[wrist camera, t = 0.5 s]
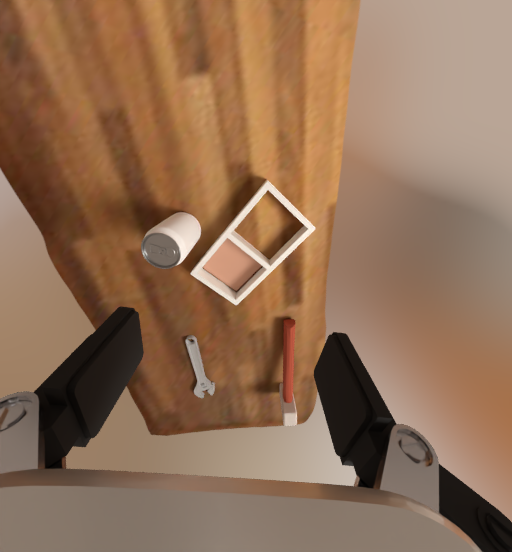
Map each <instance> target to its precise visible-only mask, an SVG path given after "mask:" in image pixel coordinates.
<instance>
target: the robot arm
mask: <svg viewBox="0 0 512 552" xmlns="http://www.w3.org/2000/svg"><path fill="white" fill-rule="evenodd" d="M142 357H143V345H142V337H141V329H140V321H139V314H138V312H135V309H134V308H128V307H119V308H117V310H116V311H115V312H114V313H113V314H112V315H111V316H110V317H109V318H108V319H107V320H106V321H105V322H104V323H103V324H102V325H101V326H100V327H99V328H98V329H97V330H96V331H95V332H94V333H93V334H91V335H90V336H89V337H88V338H87V339H86V340H85V341H84V342H83V343H82V344H81V345H80V346H79V347H78V348H77V349H76V350H75V351H74V352H73V353H72V354H71V355H70V356H69V357H68V358H67V359H66V360H65V361H64V362H63V363H62V364H61V365H60V366H59V367H58V368H57V369H56V370H55V371H54V372H53V373H52V374H51V375H50V376H49V377H48V378H47V379H46V380H45V381H44V382H43V383H42V384H41V386H40V387H39V388H37V390H35V392H34V393H33V392H27V391H26V392H17V393H14V394H10V395H7V396H5V397H3V398H1V399H0V552H512V522H511V521H510V520H509V519H508V518H507V517H506V516H505V515H503V514H502V513H501V512H500V511H499V510H498V509H496V508H495V507H494V506H493V505H491V504H490V503H489V502H487V501H486V500H485V499H483V498H482V497H481V496H480V495H478V494H477V493H476V492H475V491H473V490H472V489H471V488H469V487H468V486H467V485H466V484H464V483H463V482H462V481H460V480H459V479H458V478H457V477H455V476H454V475H453V474H451V473H450V472H449V471H448V470H446V469H445V468H443V467H442V466H441V465H440V464H439V462H438V457H437V455H436V453H435V451H434V449H433V447H432V446H431V445H430V443H429V442H428V441H427V440H426V439H425V438H424V436H423V435H421V434H420V433H419V432H418V431H416V430H415V429H413V428H411V427H410V426H407V425H404V424H396V423H395V421H394V419H393V417H392V415H391V413H390V411H389V410H388V408H387V406H386V404H385V402H384V401H383V399H382V397H381V395H380V393H379V391H378V390H377V388H376V386H375V384H374V383H373V381H372V379H371V377H370V375H369V373H368V372H367V370H366V368H365V366H364V365H363V363H362V361H361V359H360V358H359V356H358V354H357V352H356V350H355V349H354V347H353V345H352V343H351V341H350V339H349V338H348V336H347V335H346V334H344V333H337V332H333V334H332V335H329V336H328V339H327V341H326V343H325V346H324V348H323V350H322V353H321V355H320V358H319V360H318V362H317V365H316V367H315V370H314V378H315V382H316V385H317V389H318V392H319V396H320V400H321V403H322V406H323V410H324V414H325V417H326V421H327V424H328V428H329V431H330V435H331V439H332V442H333V446H334V449H335V452H336V454H337V455H338V456H340V459H341V462H342V465H349V466H354V468H355V471H356V474H357V477H356V480H355V484H354V486H343V485H332V484H319V483H305V482H290V481H276V480H260V479H245V478H229V477H212V476H197V475H180V474H163V473H145V472H128V471H110V470H84V469H83V470H82V469H66V457H65V456H66V455H67V454H68V453H69V451H70V450H71V448H72V447H73V446H77V447H86V445H87V444H88V442H89V440H90V439H91V438H94V437H95V436H96V435H97V434H98V432H99V431H100V429H101V428H102V426H103V424H104V422H105V421H106V419H107V417H108V416H109V414H110V412H111V410H112V409H113V407H114V405H115V404H116V402H117V400H118V399H119V397H120V395H121V394H122V392H123V390H124V389H125V387H126V385H127V383H128V382H129V380H130V378H131V377H132V375H133V373H134V372H135V370H136V368H137V366H138V365H139V363H140V361H141V360H142Z"/></svg>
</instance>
